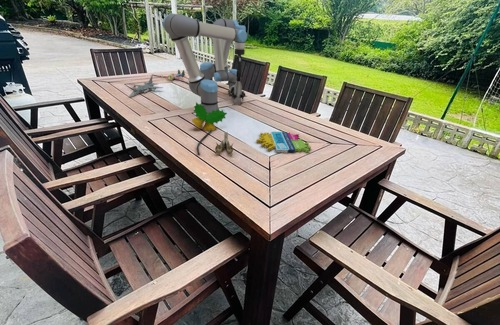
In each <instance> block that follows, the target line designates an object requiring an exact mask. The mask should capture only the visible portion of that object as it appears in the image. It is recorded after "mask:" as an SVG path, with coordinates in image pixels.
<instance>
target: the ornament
mask: <svg viewBox="0 0 500 325" xmlns="http://www.w3.org/2000/svg"><path fill="white" fill-rule="evenodd" d="M219 110H220V108H219V109H217V110H216V111H214V110H212V112H211V113H208V112H206V109H204V106H201V103H198V102H195V105H194V106H193V112H194V113H195V118H192V119H191V122H192V123H193V125H195V127H197V128H198V129H202V130H203V131H206V132H210V130H212V131H213V132H214V131H215V130H216V126H215V124H218V123H219V122H223V119H226V115H227V114H228V113H227V112H224V110H223V109H221V110H220V111H219ZM207 113H208V115H207ZM214 123H215V124H214ZM212 131H211V132H212Z"/></svg>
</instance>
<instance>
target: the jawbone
mask: <svg viewBox="0 0 500 325" xmlns="http://www.w3.org/2000/svg"><path fill="white" fill-rule="evenodd" d="M223 135H224V136H223V140H222V139H221V142H220V144H218V142H215V144H216V146H215V148H214V149H215V152H214V154H215V155H217V156H218V155H220V153H221V152H223V151H224V150H226V152H227V153H228V155H229V156H233V155H234V154H233V153H234V148H233V144H234V143H230V140H228V139H229V138H228V137H229V136H228V135H229V133H228V131H226V132H224V134H223Z"/></svg>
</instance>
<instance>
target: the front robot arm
mask: <svg viewBox="0 0 500 325" xmlns="http://www.w3.org/2000/svg"><path fill="white" fill-rule="evenodd" d="M162 25H163V30H165V32H166V33H167V34H168V37H169V38H170V40H171V42H173V43H175V46H176V49H177V51H178V53H179V56H180V58H181V60H182V63H183V66H184V67H185V70H186V72H187V75H188V79H187V80H188V81H187V82H188V83H189V84H188V88H189V90H190V91H191V92H192V93H193V94H194V95H197V97H198V96H199V97H200V104H201V106H204V109H206V112H208V113H211V112H212V110H214V111H216V110H217V109H219V111H221V110H220V108H219V102H218V99H219V98H218V97H219V87H218V82H216V81H215V80H214V79H213V80H208V79H205V77H204V74H202V73H201V72H200V66H199V65H198V62H197V59H196V57H195V54H194V51H193V49H192V46H191V43H190V41H189V37H193V38H198V37H206V38H211V39H212V38H217V39H223V40H231V41H232V42H234V55H237V56H236V70H237V81H239V82H241V81H242V63H243V56H245V54H246V53H245V52H246V49H245V48H246V41H247V39H248V32H246V31H247V28H246V25H240V24H239V25H236V26H235V28H229V27H224V26H219V25H214V24H213V23H207V22H203V21H200V20H199V19H197V18H193V17H189V16H187V15H183V14H178V13H169V14H167V15H165V17H164V18H163V21H162ZM241 83H242V82H241ZM208 113H207V115H208ZM211 133H212V130H210V131H208V132H207V133H206V134H205V136H203V137H202V138H200V140H199V141H198V143H197V146H196V152H197V155H198V156H199V155H200V151H199V147H200V144H201V143H202V142H203V140H204V139H205V138H206V137H208V136H209V134H211Z"/></svg>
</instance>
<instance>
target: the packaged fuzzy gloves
mask: <svg viewBox="0 0 500 325" xmlns="http://www.w3.org/2000/svg"><path fill="white" fill-rule="evenodd" d="M299 136H300V135H299V134H298V133H296V134H294V133H291V132H287V131H270V132H264V133H263V132H260V133H259V139H258V138H257V139H256V143H257V144H261V148H263V147H264V148H265V149H267V151H268V152H271V151H272V150H273V149H275V152H276V153H283V154H285V153H287V154H288V153H290V154H293V153H296V152H298V153H301V152H305V153H310V151H311V150H312V149H311V148H312V146H309V142H304V141H303V139H302V138H299Z"/></svg>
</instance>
